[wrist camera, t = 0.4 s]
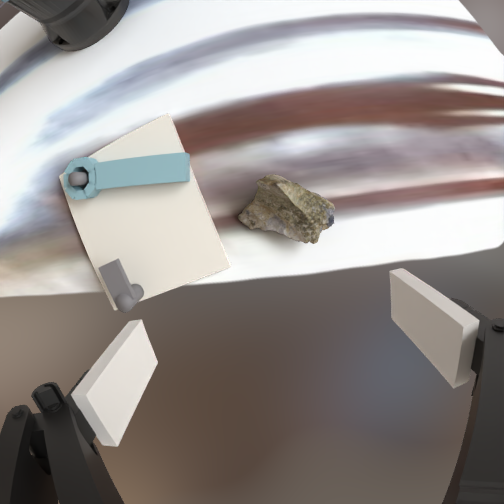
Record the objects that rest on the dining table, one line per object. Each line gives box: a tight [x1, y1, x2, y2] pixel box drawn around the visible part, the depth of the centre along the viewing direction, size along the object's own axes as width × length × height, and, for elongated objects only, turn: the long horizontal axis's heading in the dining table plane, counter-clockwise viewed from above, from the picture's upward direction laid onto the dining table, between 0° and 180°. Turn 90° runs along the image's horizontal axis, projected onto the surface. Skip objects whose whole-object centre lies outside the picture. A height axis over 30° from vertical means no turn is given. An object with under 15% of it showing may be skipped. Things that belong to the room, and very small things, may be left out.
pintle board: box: [59, 114, 231, 313], centre depth 37 cm, size 22×19×6 cm
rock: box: [238, 174, 335, 244], centre depth 37 cm, size 11×6×10 cm
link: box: [63, 152, 190, 200], centre depth 36 cm, size 18×6×2 cm, turn 92°
